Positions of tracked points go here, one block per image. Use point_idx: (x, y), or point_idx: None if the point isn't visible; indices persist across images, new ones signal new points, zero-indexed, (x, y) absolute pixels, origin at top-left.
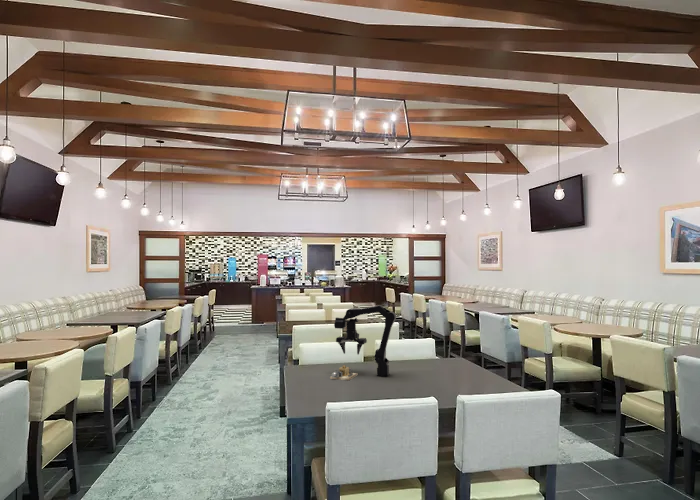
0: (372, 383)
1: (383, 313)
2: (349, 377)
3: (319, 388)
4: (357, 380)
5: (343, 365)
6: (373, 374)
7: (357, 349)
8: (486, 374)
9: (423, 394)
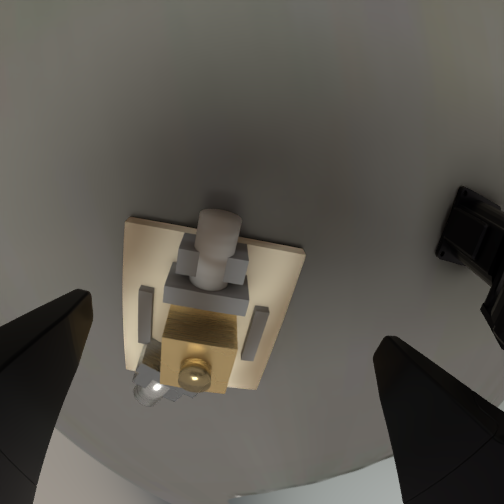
0: None
1: None
2: (256, 368)
3: (162, 453)
4: (308, 363)
5: (186, 381)
6: (420, 199)
7: (399, 458)
8: None
9: None
